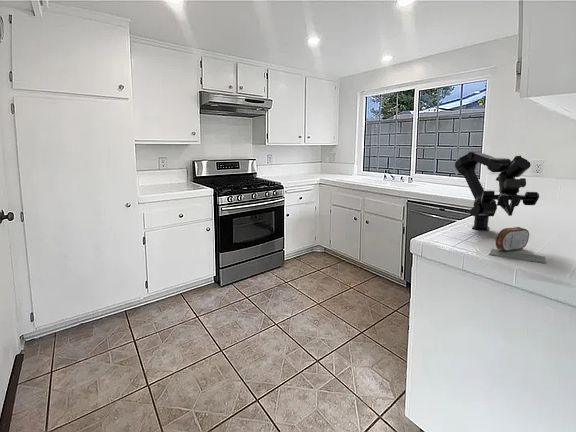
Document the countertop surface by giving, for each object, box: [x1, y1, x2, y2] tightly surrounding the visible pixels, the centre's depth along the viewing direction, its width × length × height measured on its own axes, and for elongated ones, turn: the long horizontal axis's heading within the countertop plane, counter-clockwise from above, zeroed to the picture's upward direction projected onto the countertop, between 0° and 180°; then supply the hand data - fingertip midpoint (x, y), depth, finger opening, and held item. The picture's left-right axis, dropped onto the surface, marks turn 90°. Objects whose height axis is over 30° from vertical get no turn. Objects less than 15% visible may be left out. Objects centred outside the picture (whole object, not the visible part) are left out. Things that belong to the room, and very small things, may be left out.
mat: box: [489, 248, 546, 264], centre depth 115 cm, size 8×16×1 cm, turn 52°
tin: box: [495, 226, 530, 252], centre depth 121 cm, size 15×3×8 cm, turn 111°
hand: (510, 215), depth 126 cm, fingers closed
